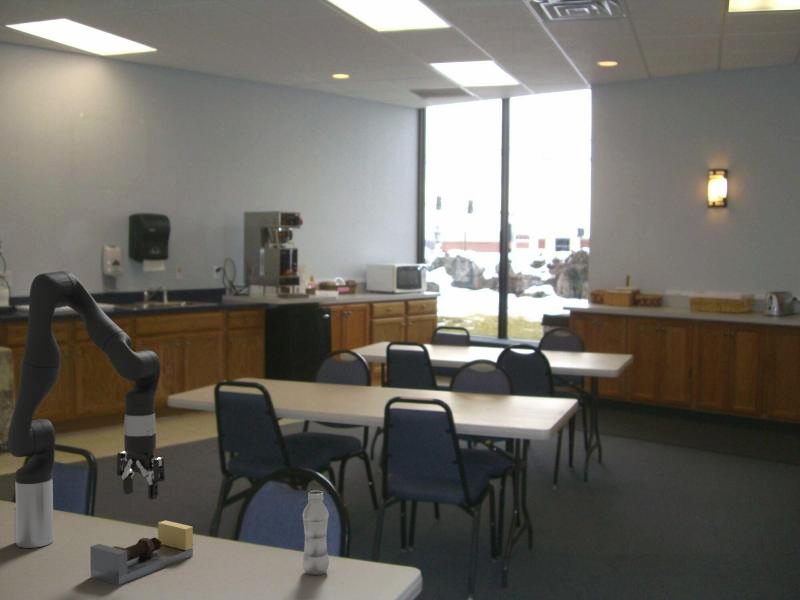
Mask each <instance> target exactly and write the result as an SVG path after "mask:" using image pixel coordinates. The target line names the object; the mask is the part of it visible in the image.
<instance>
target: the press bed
mask: <svg viewBox="0 0 800 600" xmlns="http://www.w3.org/2000/svg"><path fill="white" fill-rule="evenodd" d="M160 545H161V547H160V549H158V550H156V551H154V552H153V553H152V555H151V556H150V557H141V556H140V557H137V558H135V559H132V560H130V561H127V551H124V550H120V549H117V548H113V547H114V546H109V545H105V544H101V543H97V544H94V545H91V546H90V547H89V549H90V553H89V554H90V578H92V579H96V580H98V581H103V582H105V583H106V582H107V583H109V584H113V585H116V586H122V585H125V584H126V583H129V582H131V581H134V580H137V579H139V578H142V577H145V576H146V575H149V574H152V573H154V572H157V571H159V570H162V569H164V568H167V567H169V566H171V565H174V564H177V563H179V562H182V561H184V560H186V558H187V559H189V558H191V556H192V557H193V556H194V552H193V551H194V547H193V548H191V549H188V550H182V549H178V548H174V547H170V546H166V545H162V544H160Z"/></svg>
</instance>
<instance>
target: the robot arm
mask: <svg viewBox="0 0 800 600" xmlns="http://www.w3.org/2000/svg"><path fill="white" fill-rule="evenodd" d="M28 301H29V302H28V304H29V305H28V321H27V330H26V340H25V348H24V353H23V356H22V357H23V358H22V364H21V368H20V378H19V383H18V384H19V386H18V391H17V395H16V396H17V397H16V401H15V405H14V409H13V412H12V416H11V421H10V422H9V423H10V424H9V427H8V433H7V448H8V451H9V453H10V454H11V455H12V456H13V457H15V458H26V457H30V456H32V457H31V458H30V460H28V462H27V463H26V464H24V465H22V466H20V467H19V468H17V469H16V471H15V475H14V476H15V480H14V481H15V482H14V483H15V484H14V485H15V507H14V508H13V521H14V522H13V525H14V526H13V527H14V528H13V529H14V533H13V534H14V535H13V536H14V543H15V544H16V547H18V548H23V549H24V548H25V549H29V548H30V549H35V548H42V547H45V546H47V545H50V544H52V543H53V542H54V491H53V490H54V489H53V488H54V487H53V485H54V484H53V483H54V482H53V480H54V479H53V474H54V473H53V472H54V469H55V458H56V457H55V455H56V454H55V452H56V451H55V450H56V433H55V428H54V425H53V423H52V422H51V421H50V420H49V419H46V418H41V419H34V416H35V413H36V411H37V409H38V408H39V406H40V405H41V404H42V402H43V401H44V400H45V398H47V396H48V395H49V394H50V392H52V389H53V388H54V386H56V383H57V381H58V378H59V375H60V370H61V363H62V353H61V349H60V346H59V344H58V342H57V339H56V337H55V335H54V333H53V319H54V314H55V312H56V309H59V308H64V307H68V308H70V309H71V310H74V311H75V312H76V313H77V314H78V315H79V316H80V317H81V319H82V321H83V324H84V326H85V330H86V334H87V335H88V337H89V340H91V342H93V343H94V345H95V346H96V347H97V348H98V349H99V350H101V351H102V352H103V353H104V354H105V355H106V356H107V357H108V359H109V361H110V363H111V364H112V366H113V368H114V369H115V371H116V372H117V374H118V375H119V376H120V377H122V378H123V379H124V380H127V381H129V382H134V386H133V387H132V388H131V389H130V390H128V391H127V392H126V393H125V400H124V414H125V415H124V421H123V422H124V424H123V425H124V426H123V428H124V429H123V432H124V435H123V437H124V440H123V441H124V442H123V443H124V451H120V452H118V453H117V455H116V457H117V458H116V476H118V477H121V478H122V481H123V483H122V484H123V486H122V489H123V493H124V495H131V494H133V491H134V490H133V489H134V485H133V484H134V482H133V481H134V479H133V476H134V474H135V473H138V474H141V475H142V476H143V477H144V478H145V479H146V480H147V483H148V485H147V486H148V487H147V488H148V492H147V495H148V499H149V500H150V501H152V500H155V499H157V498H158V495H159V484H160V483H162V482H165V480H166V477H165V460H164V457H162V456H161V457H155V455H154V452H155V450H156V449H157V422H156V421H157V420H156V413H155V412H156V411H155V410H156V409H155V406H156V402H155V401H156V400H155V399H156V398H155V395H156V393H157V389H158V386H159V385H158V384H159V380H160V376H161V372H162V371H161V367H162V366H161V362H160V361H161V360H160V358H159V356H158V354H157V353H156V352H154V351H153V350H148V349H145V350H140V351H139V350H138V351H133V350H132V349H131V348H132V346H133V341H132V338H131V337H130V336H129V335H128V334H127V333H126V331H124V330H123V329H122V328H120V326H118V324H117V323H115V322H114V321H113V320H112V319H111V318H110V317H109V316H108V315H107V314H106V313H105V312H104V311H103V309H102V308H101V307H100V305H99V304H98V302H97V301H96V300H95V298H94V297H93V296H92V294H91V293H90V292H88V290H87V288H86V287H85V286H84V284H83V283H82V282H81V281H80V279H78V278H77V277H76V275H74V274H73V273H72V272H69V271H68V270H67V271H66V270H62V271H60V270H59V271H52V272H51V271H50V272H44V273H39V274H37V275H36V276H35V277H34V279H33V280H32V282H31V285H30V290H29V299H28Z"/></svg>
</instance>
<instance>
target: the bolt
mask: <svg viewBox="0 0 800 600" xmlns="http://www.w3.org/2000/svg"><path fill="white" fill-rule="evenodd" d="M160 544H161V541H160V540H158V537H155V536H154V537H152V538H147V537H142V538H140V539H138V541H137V542H136V543H135V544H132V545H130V546H127V547H120V546H112V547H113V548H117V549H120V550H124V551H127V561H130V560H132V559H135V558H137V557H140V556H141V557H150V556H151V555H152V553H153V552H154V551H156V550H158V549H160V547H161V545H160Z"/></svg>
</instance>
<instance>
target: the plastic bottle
mask: <svg viewBox="0 0 800 600" xmlns="http://www.w3.org/2000/svg"><path fill="white" fill-rule="evenodd" d="M307 496H308V497H307V501H308V503H307V505H306V506H305V507H304V509H303V511H302V520H303V521H302V522H303V527H304V530H303V531H304V548H303V551H304V552H303V557H302V569H303V570H304V572H305V573H306V574H308V575H314V576H315V575H316V576H317V575H322V574H325V573H326V572H327V570H329V569H328V568H329V565H330V562H329V559H330V558H329V554H328V545H327V535H328V534H327V531H328V521H329V516H330V515H329V511H328V508H327V507H326V505H325V504H324V502H323V501H324V491H321V490H311V491H309V492H308V495H307Z"/></svg>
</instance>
